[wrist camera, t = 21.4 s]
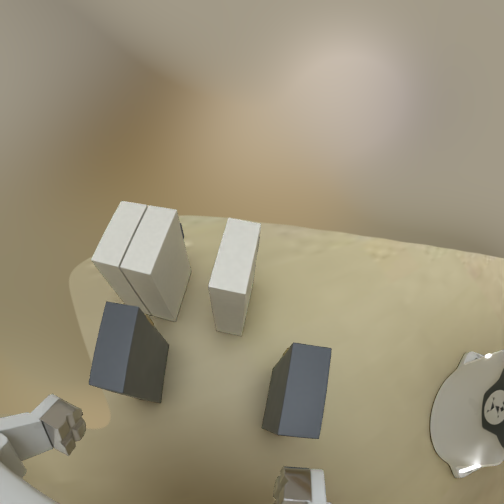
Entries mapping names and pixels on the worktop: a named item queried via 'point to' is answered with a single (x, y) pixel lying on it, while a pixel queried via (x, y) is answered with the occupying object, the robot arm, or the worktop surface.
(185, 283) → the white book
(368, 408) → the worktop surface
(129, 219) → the white book
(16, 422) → the robot arm
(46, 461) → the worktop surface
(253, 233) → the white book
